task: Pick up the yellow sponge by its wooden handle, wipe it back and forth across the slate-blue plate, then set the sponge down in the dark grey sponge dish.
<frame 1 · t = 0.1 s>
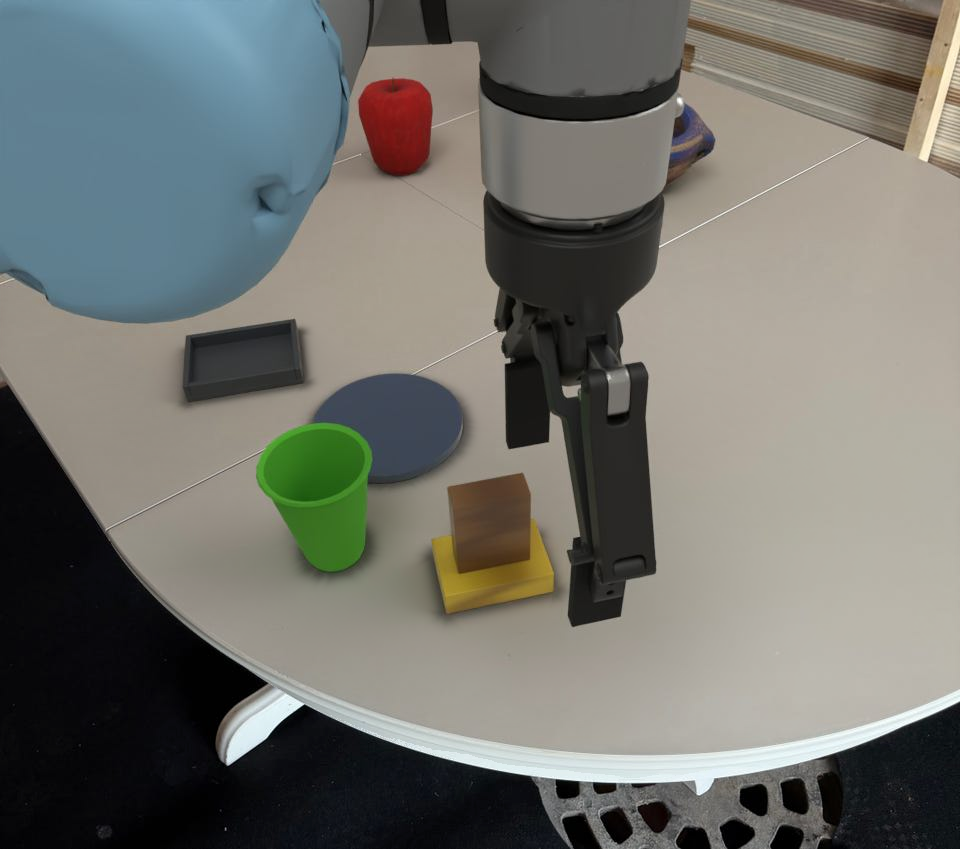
hand: (557, 520, 48), 19 cm above the table, tool pointing down, fingers open, 13 cm apart
dish: (245, 366, 91), on the table
plate: (388, 428, 83), on the table
cup 2: (592, 105, 140), on the table
planter: (208, 173, 126), on the table
mug: (145, 243, 111), on the table
cup: (336, 550, 72), on the table
apple: (401, 168, 125), on the table
bowl: (633, 182, 119), on the table
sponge: (492, 574, 69), on the table
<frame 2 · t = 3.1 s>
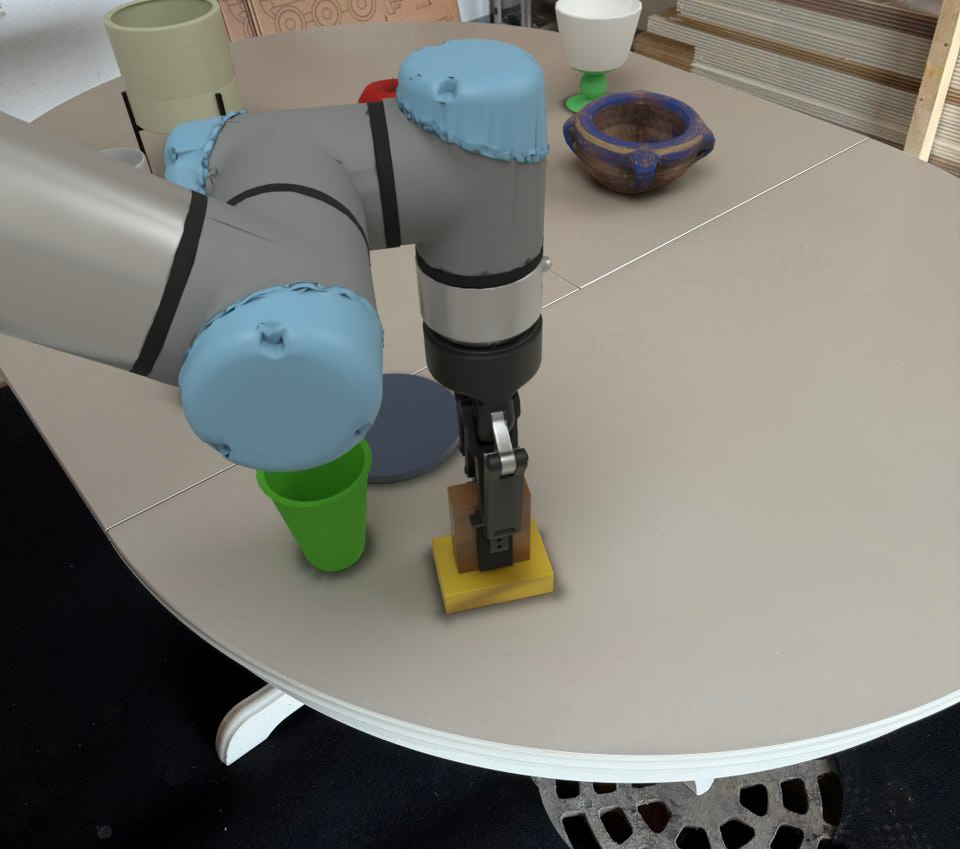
hand: (491, 549, 67), 3 cm above the table, tool pointing down, fingers closed on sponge, 2 cm apart
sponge: (492, 574, 69), on the table, touching gripper
everything else where it was.
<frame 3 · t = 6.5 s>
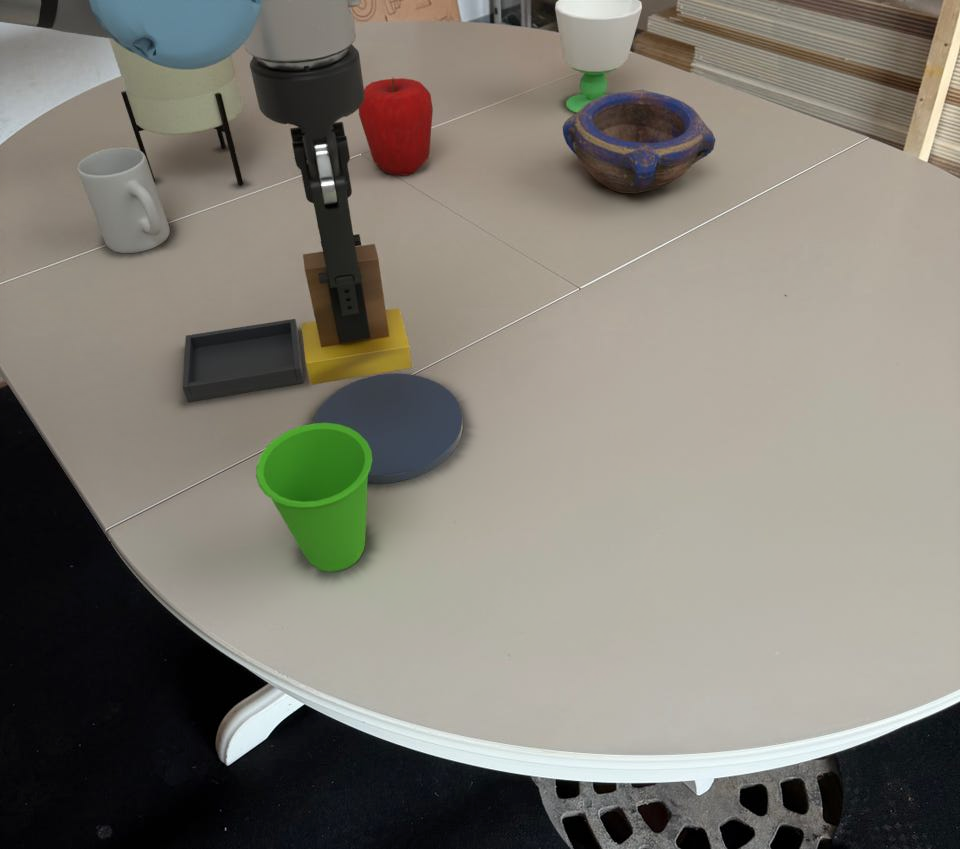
hand: (352, 327, 72), 14 cm above the table, tool pointing down, fingers closed on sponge, 2 cm apart
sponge: (358, 356, 75), point 10 cm above the table, touching gripper
everything else where it was.
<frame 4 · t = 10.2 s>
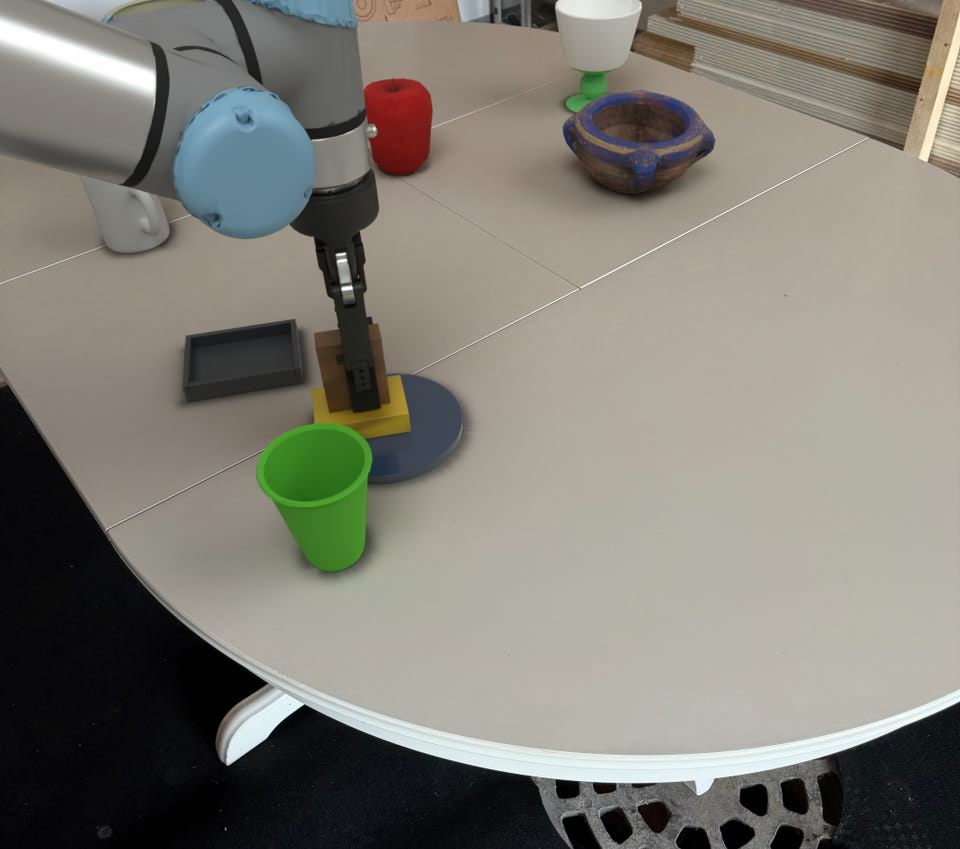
hand: (364, 397, 80), 4 cm above the table, tool pointing down, fingers closed on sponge, 2 cm apart
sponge: (362, 419, 82), point 1 cm above the table, touching gripper
everything else where it was.
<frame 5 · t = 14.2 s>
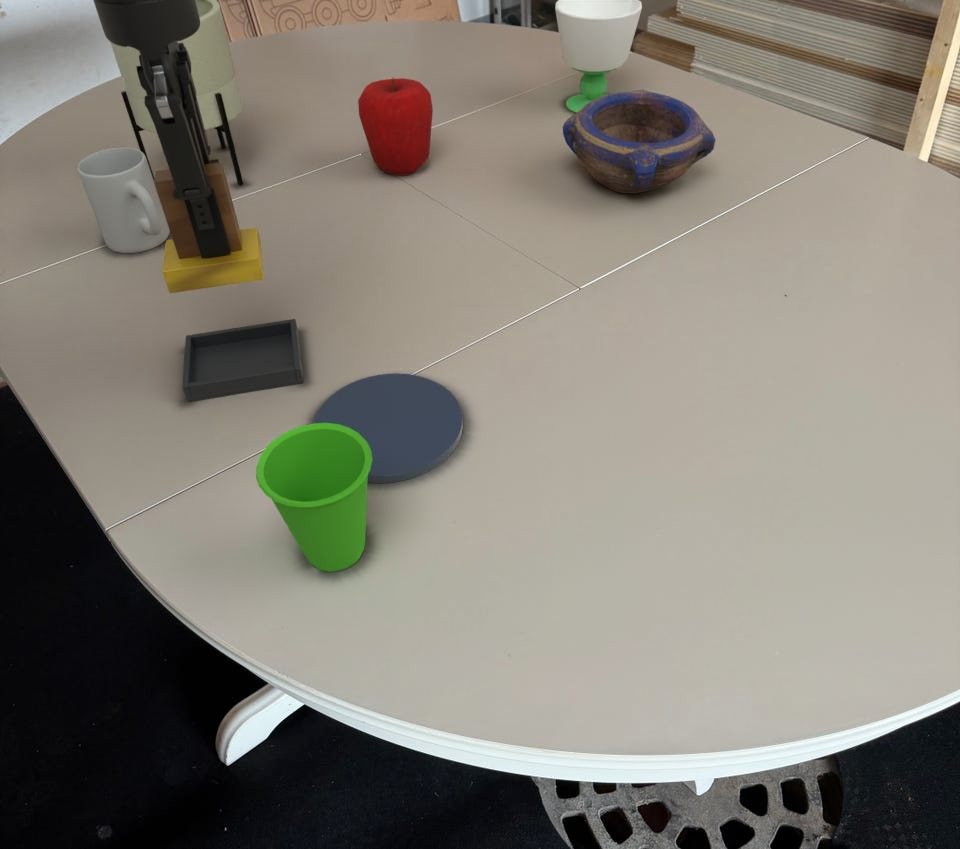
hand: (216, 245, 80), 15 cm above the table, tool pointing down, fingers closed on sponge, 2 cm apart
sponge: (217, 270, 82), point 13 cm above the table, touching gripper
everything else where it was.
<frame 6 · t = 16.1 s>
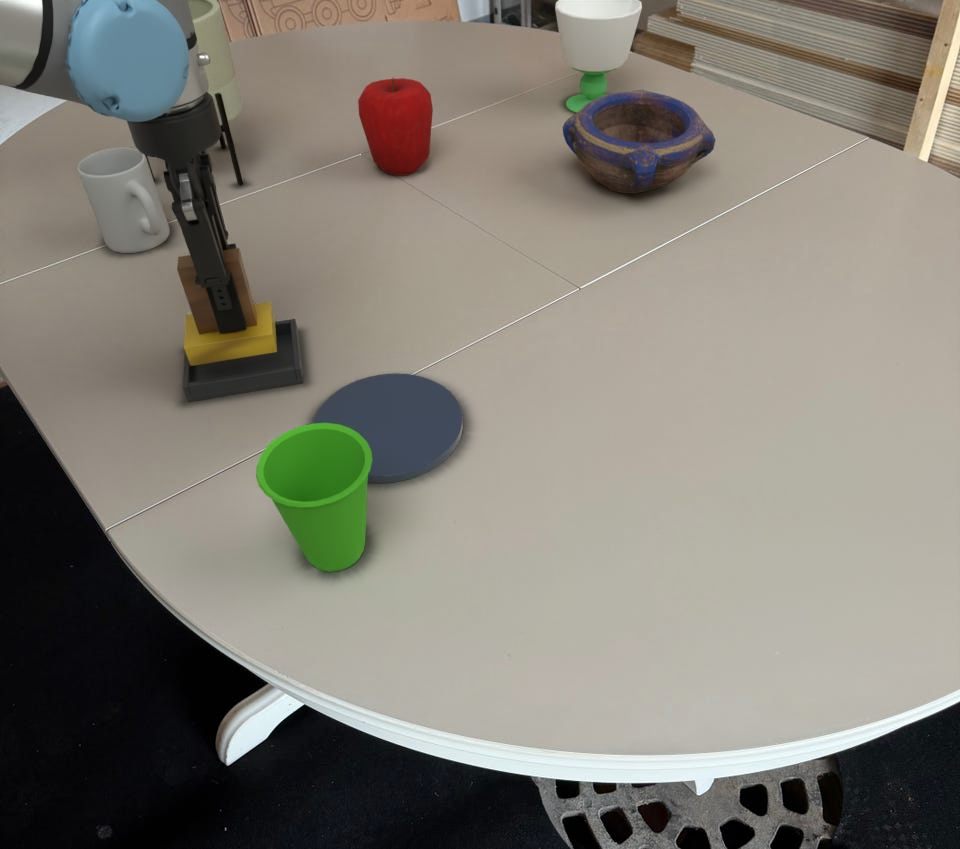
hand: (233, 320, 87), 6 cm above the table, tool pointing down, fingers closed on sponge, 2 cm apart
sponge: (234, 342, 88), point 3 cm above the table, touching gripper
everything else where it was.
when the fingers open (3 cm above the table, at t = 17.2 s): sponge stays where it is, resting on dish.
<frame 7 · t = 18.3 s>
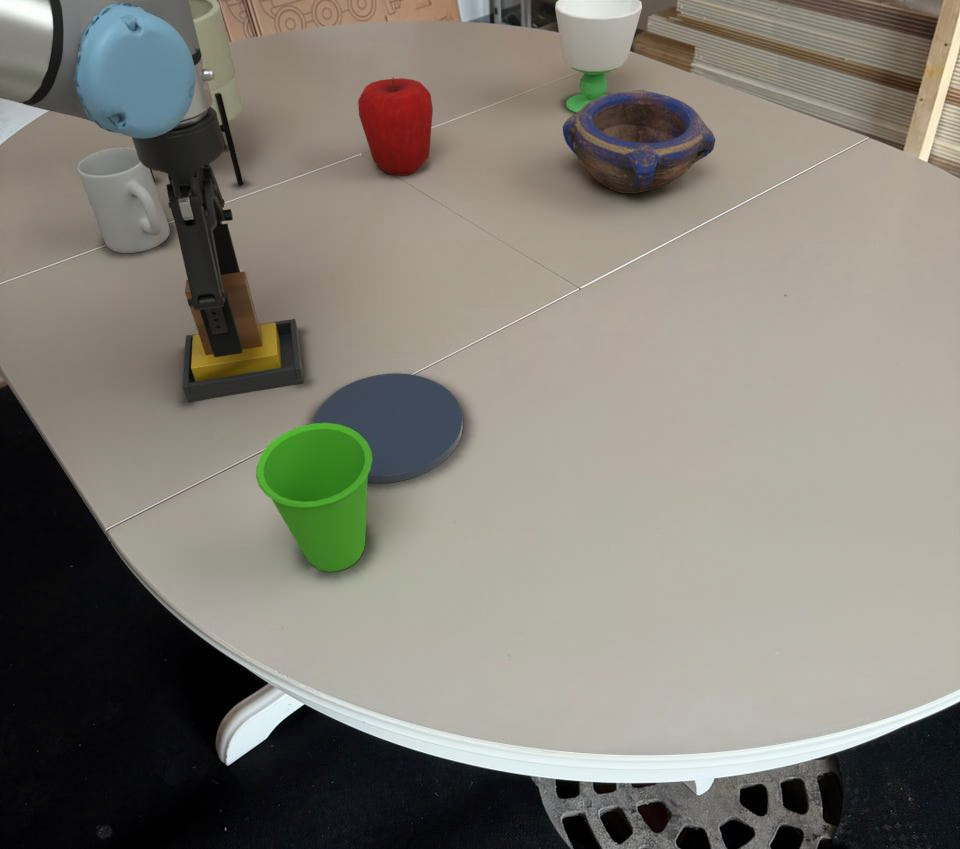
hand: (228, 314, 86), 7 cm above the table, tool pointing down, fingers open, 13 cm apart
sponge: (239, 362, 90), point 1 cm above the table, touching dish
everything else where it was.
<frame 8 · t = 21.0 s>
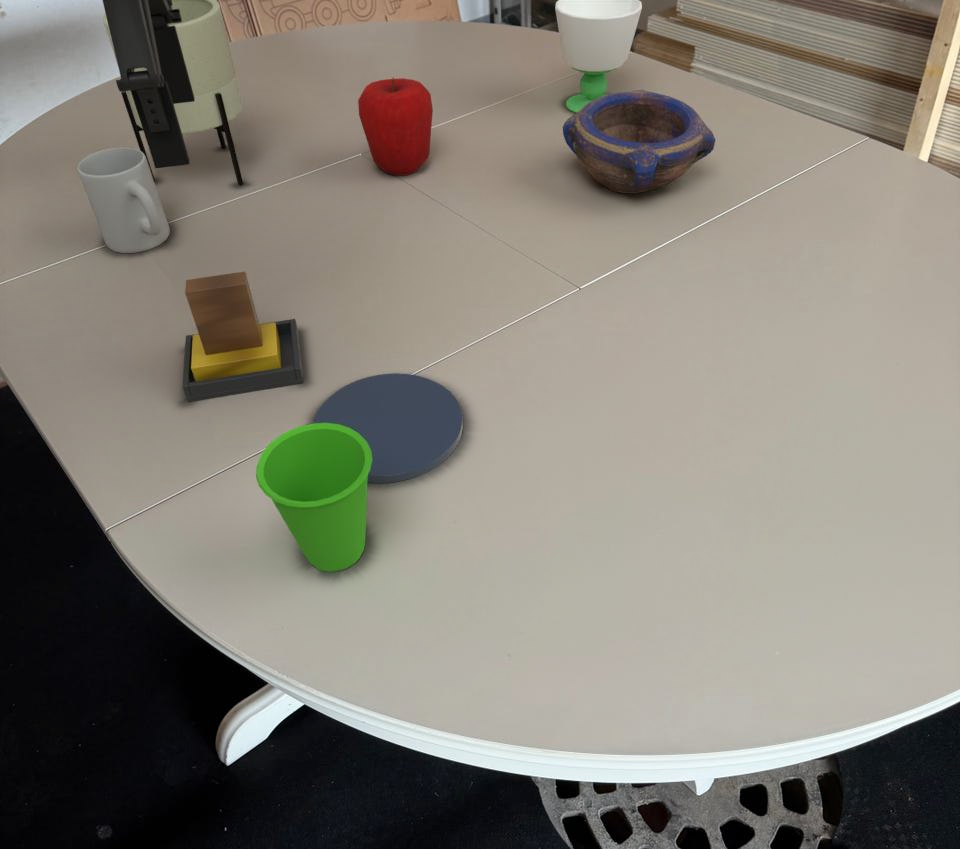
hand: (176, 131, 73), 27 cm above the table, tool pointing down, fingers open, 13 cm apart
nothing on the table moved.
at the end: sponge 0.5 cm off-centre in the dish, point 0.6 cm above the dish's base; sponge tilted 0°; the gripper is holding nothing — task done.
